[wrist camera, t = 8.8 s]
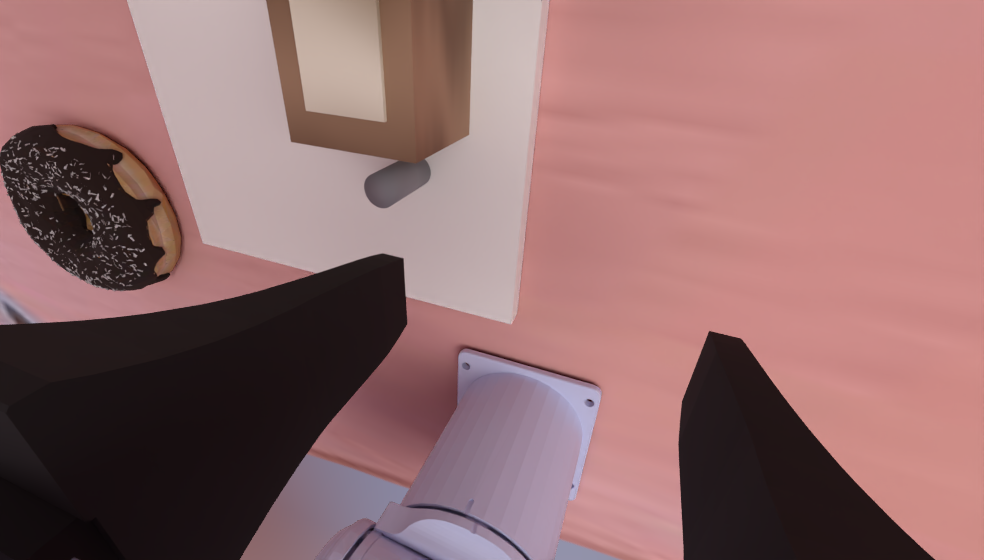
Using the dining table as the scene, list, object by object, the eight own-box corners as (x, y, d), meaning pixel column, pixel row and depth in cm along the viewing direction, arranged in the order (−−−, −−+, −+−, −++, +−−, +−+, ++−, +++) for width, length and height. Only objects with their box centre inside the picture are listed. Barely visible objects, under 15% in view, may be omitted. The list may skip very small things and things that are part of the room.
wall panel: (517, 313, 23) (490, 362, 20) (216, 236, 28) (156, 265, 25) (588, -378, 12) (551, -533, 8) (63, -288, 17) (-84, -361, 14)
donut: (28, 129, 30) (-50, 142, 27) (137, 106, 26) (58, 118, 23) (116, 274, 35) (59, 300, 32) (221, 276, 31) (166, 306, 27)
